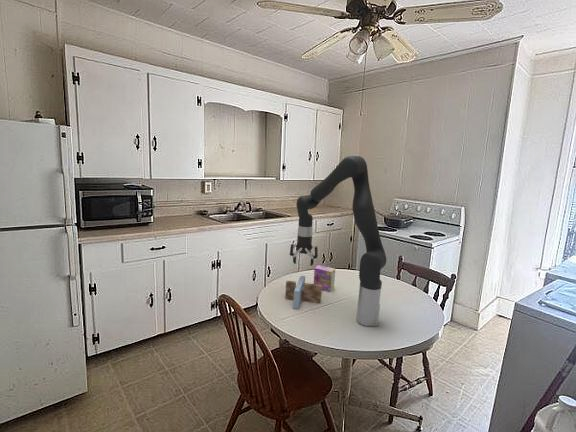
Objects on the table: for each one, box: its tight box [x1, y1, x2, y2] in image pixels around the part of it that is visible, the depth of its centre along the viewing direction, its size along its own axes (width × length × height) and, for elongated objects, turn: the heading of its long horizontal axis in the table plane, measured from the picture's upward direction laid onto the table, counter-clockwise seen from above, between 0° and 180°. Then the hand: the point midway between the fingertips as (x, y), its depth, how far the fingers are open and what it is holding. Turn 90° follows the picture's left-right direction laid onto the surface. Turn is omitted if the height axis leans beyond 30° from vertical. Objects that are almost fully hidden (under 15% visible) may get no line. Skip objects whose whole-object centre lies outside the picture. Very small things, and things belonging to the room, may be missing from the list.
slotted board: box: [284, 280, 323, 304], centre depth 157 cm, size 18×2×9 cm, turn 79°
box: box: [313, 264, 336, 293], centre depth 173 cm, size 10×6×12 cm, turn 62°
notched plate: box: [292, 275, 306, 310], centre depth 158 cm, size 20×2×9 cm, turn 169°
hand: (303, 264), depth 162 cm, fingers open, 8 cm apart
